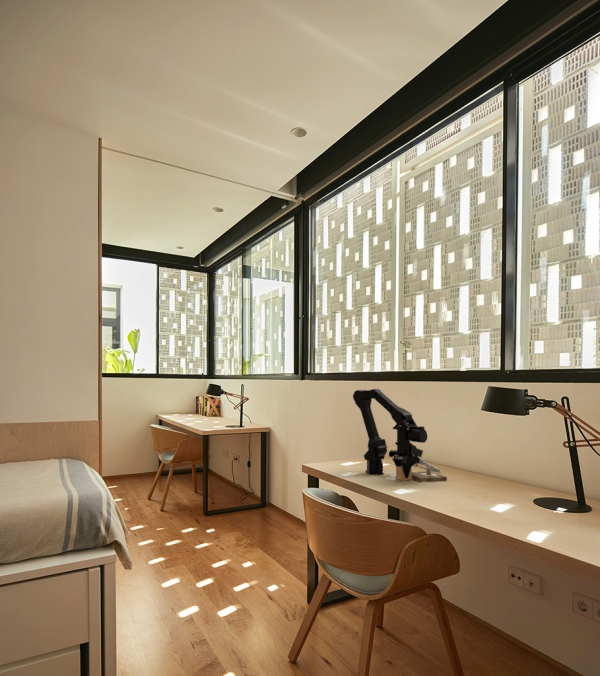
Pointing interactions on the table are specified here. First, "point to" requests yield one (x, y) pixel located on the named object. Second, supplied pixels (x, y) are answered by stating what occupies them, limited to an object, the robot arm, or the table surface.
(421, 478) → the post board
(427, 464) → the caliper
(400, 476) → the light brown cube
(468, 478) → the table surface
